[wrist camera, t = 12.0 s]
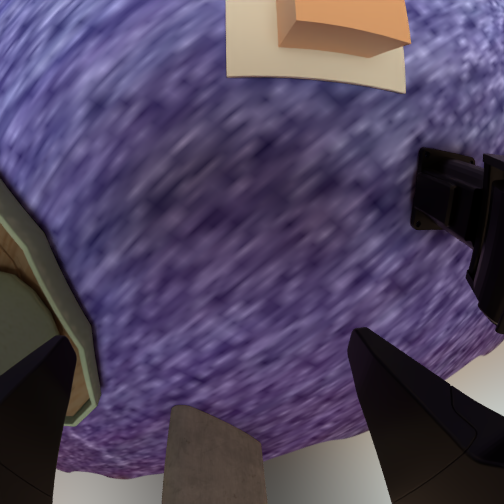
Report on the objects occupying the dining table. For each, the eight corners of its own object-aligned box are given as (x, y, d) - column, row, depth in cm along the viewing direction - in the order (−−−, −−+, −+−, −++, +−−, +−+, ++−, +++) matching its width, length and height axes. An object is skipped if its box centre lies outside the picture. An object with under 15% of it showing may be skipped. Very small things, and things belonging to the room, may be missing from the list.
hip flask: (166, 409, 28) (152, 563, 10) (189, 399, 27) (182, 570, 9) (247, 450, 34) (257, 565, 16) (270, 442, 33) (286, 563, 15)
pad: (389, -17, 11) (392, -20, 10) (401, 93, 15) (405, 93, 15) (226, -41, 10) (226, -45, 10) (226, 77, 14) (226, 76, 14)
